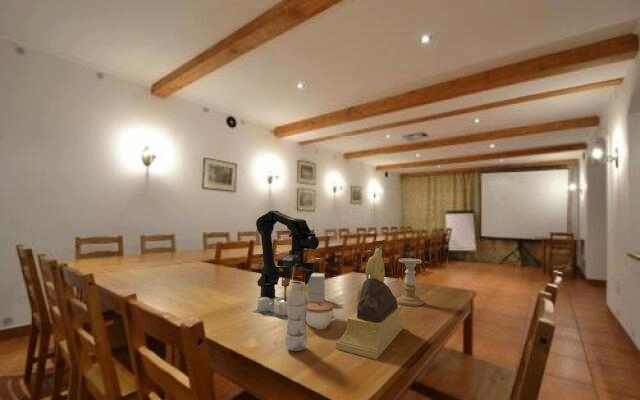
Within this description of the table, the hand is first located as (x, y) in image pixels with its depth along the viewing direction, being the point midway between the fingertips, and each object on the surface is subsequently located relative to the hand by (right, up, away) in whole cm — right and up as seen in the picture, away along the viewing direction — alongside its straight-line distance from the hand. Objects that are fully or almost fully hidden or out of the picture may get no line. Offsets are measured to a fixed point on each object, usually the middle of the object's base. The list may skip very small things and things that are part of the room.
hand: (297, 283), depth 133 cm
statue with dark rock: (+28, -10, -31) cm, 43 cm away
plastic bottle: (+3, -9, -41) cm, 42 cm away
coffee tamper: (-4, -5, -8) cm, 10 cm away
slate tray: (-5, -10, -7) cm, 13 cm away
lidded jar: (+9, -10, -22) cm, 26 cm away
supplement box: (+8, -12, +10) cm, 17 cm away
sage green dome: (-14, -10, -7) cm, 18 cm away
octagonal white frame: (-4, -10, -8) cm, 13 cm away
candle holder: (+53, -12, +11) cm, 55 cm away
